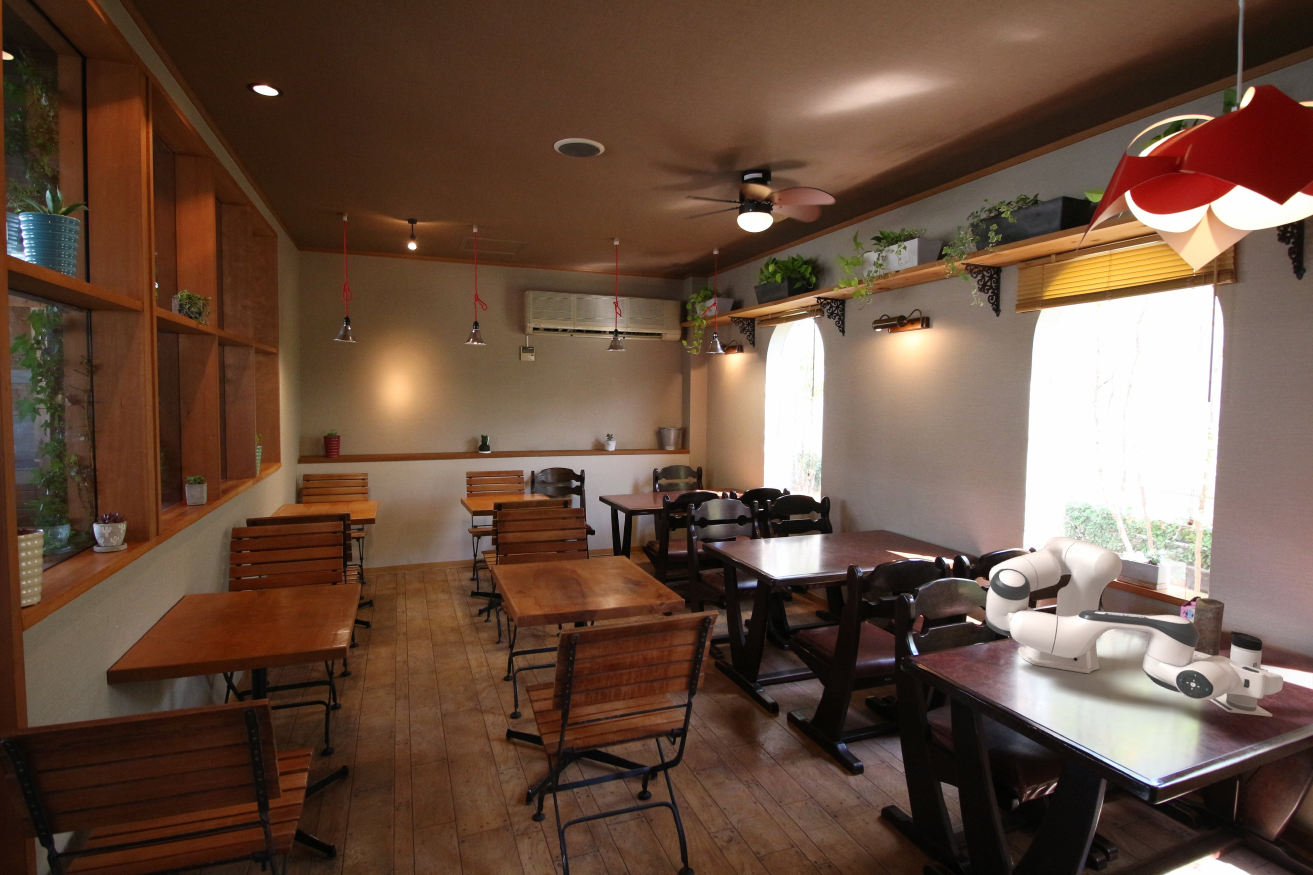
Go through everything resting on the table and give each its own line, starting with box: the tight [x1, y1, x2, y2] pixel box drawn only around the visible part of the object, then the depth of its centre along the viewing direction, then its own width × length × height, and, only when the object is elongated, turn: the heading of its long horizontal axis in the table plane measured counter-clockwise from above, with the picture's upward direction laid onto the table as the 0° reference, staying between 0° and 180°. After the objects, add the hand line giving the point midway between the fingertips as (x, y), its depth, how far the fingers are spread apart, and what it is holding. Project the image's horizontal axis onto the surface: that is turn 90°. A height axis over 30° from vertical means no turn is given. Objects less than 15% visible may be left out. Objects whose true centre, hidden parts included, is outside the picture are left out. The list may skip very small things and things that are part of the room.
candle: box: [1193, 597, 1225, 656], centre depth 218 cm, size 8×7×20 cm
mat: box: [1209, 693, 1273, 717], centre depth 186 cm, size 10×16×1 cm, turn 170°
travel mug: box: [1226, 630, 1263, 711], centre depth 181 cm, size 6×7×20 cm
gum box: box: [1179, 595, 1222, 623], centre depth 239 cm, size 24×8×14 cm, turn 130°
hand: (1241, 665), depth 179 cm, fingers open, 8 cm apart
